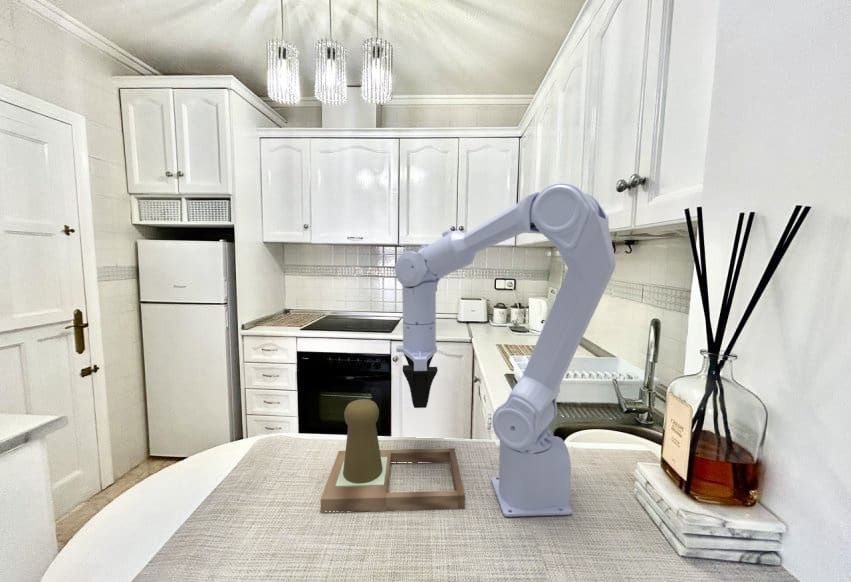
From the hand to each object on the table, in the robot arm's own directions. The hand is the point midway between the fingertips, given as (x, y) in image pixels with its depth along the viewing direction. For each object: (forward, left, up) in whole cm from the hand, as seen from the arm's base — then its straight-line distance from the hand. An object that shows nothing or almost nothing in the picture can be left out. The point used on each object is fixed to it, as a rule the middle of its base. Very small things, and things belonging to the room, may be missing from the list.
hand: (419, 397), depth 61 cm
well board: (+4, +8, -10) cm, 14 cm away
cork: (+9, +8, -8) cm, 15 cm away
